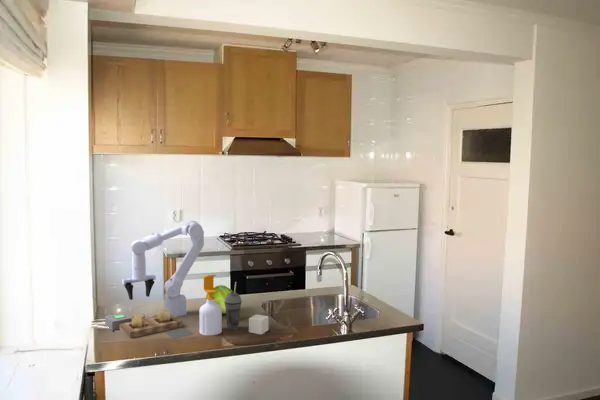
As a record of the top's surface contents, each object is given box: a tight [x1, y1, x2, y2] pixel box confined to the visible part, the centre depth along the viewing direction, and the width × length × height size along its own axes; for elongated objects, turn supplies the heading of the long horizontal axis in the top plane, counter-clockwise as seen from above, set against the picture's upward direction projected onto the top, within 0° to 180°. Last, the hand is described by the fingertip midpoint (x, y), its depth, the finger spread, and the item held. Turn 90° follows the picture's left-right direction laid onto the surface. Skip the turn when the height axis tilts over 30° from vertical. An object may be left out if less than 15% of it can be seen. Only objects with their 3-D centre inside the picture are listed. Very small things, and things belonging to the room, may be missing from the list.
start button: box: [114, 315, 125, 319], centre depth 217 cm, size 4×4×3 cm
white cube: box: [248, 313, 269, 335], centre depth 213 cm, size 6×6×6 cm
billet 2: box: [156, 308, 170, 324], centre depth 216 cm, size 4×4×7 cm
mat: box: [164, 327, 195, 339], centre depth 208 cm, size 9×9×1 cm
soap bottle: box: [198, 274, 223, 336], centre depth 209 cm, size 9×9×25 cm
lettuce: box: [205, 284, 234, 315], centre depth 234 cm, size 14×20×12 cm
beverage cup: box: [224, 281, 243, 331], centre depth 215 cm, size 7×7×20 cm
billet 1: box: [132, 313, 146, 329], centre depth 209 cm, size 4×4×7 cm
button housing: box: [104, 311, 133, 332], centre depth 217 cm, size 9×9×4 cm
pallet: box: [119, 314, 183, 339], centre depth 213 cm, size 22×12×3 cm, turn 129°
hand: (139, 297), depth 226 cm, fingers open, 7 cm apart
